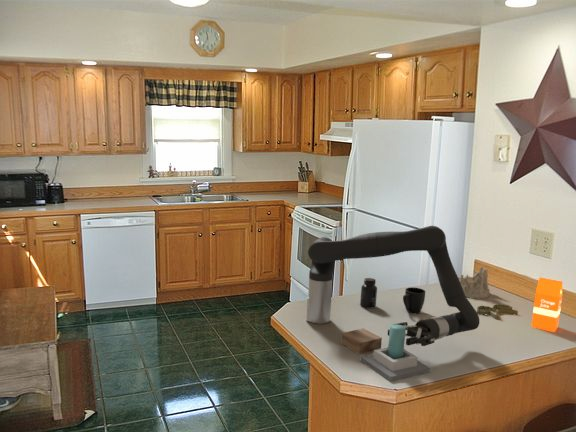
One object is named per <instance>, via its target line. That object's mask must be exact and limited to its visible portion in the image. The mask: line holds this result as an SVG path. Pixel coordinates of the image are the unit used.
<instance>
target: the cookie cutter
mask: <svg viewBox="0 0 576 432" xmlns="http://www.w3.org/2000/svg"><path fill="white" fill-rule="evenodd" d="M480 309H481V310H480ZM483 309H484V310H483ZM493 309H496V311H495V313H493V312H494V310H493ZM476 312H477V314H478V315H481V314H482V315H481V316H485V314H489V316H490V315H491V316H490V317H491V318H493V319H495V320H500V319H501V315H500V314H501V313H502V314H505V313H507V315H508V314H509V315H513V314H515V316H517V315H518V313H519V311H518V310H516V309H513V306H510V305H507V304H501V303H499V304H495V303H494V305H493V306H492V307H490V306H488V305H487V306H485V305H479V306H477V309H476Z"/></svg>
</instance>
